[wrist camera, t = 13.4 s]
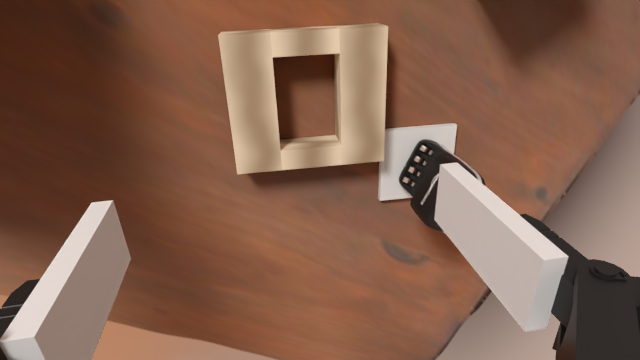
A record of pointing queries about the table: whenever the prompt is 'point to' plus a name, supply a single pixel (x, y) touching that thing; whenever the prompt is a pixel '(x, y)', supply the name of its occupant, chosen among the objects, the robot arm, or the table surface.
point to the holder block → (349, 83)
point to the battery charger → (428, 177)
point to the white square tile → (407, 154)
